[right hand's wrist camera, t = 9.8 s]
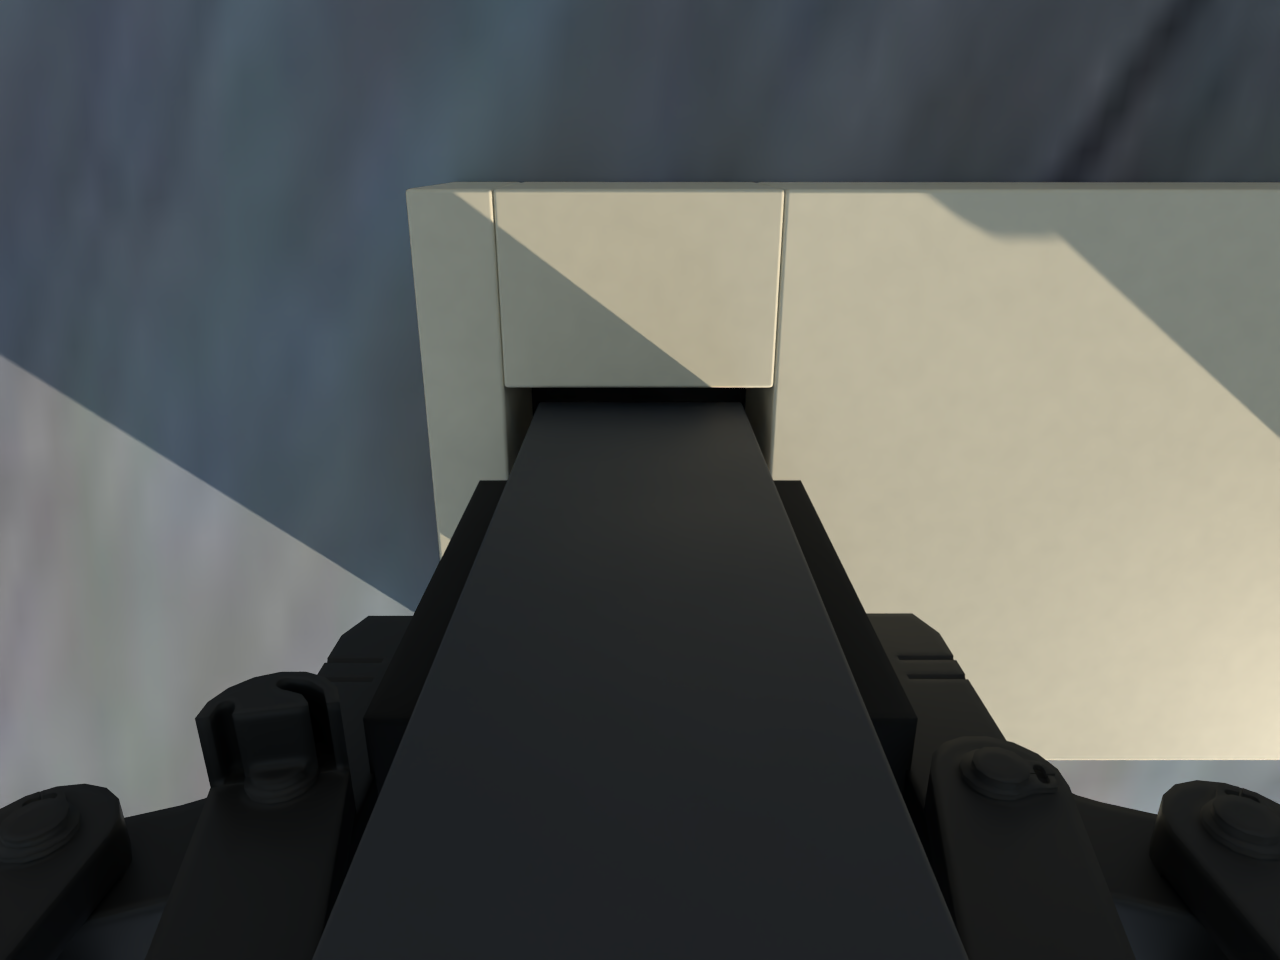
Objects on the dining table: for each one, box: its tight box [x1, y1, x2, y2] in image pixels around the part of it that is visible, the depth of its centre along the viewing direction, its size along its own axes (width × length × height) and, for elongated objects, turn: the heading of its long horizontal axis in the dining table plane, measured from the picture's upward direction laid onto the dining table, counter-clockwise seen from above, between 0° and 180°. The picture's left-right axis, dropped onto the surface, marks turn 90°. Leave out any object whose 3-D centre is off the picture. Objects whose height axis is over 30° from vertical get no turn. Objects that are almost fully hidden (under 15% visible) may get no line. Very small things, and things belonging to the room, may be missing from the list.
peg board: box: [406, 182, 1280, 760], centre depth 15 cm, size 26×12×12 cm, turn 90°
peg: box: [312, 402, 969, 960], centre depth 11 cm, size 4×4×14 cm
